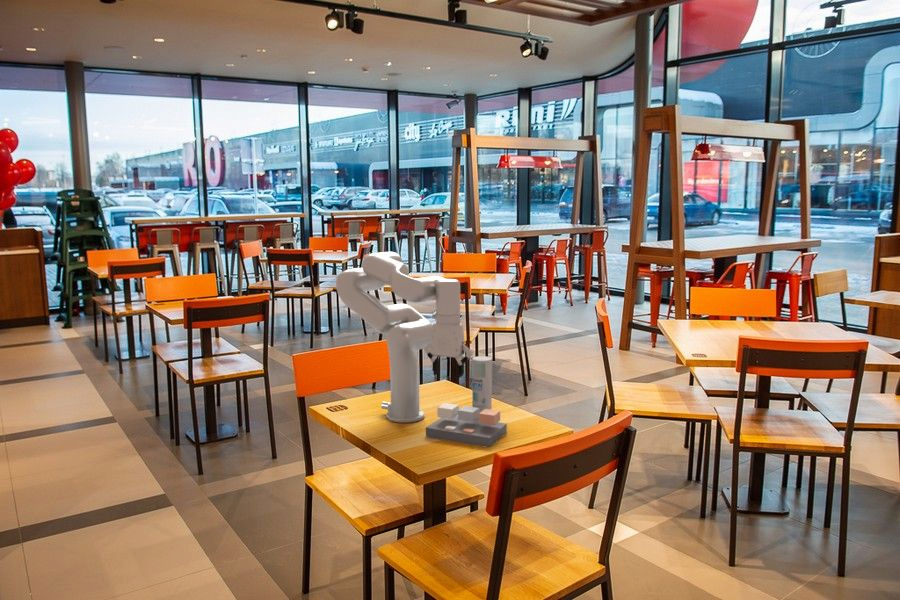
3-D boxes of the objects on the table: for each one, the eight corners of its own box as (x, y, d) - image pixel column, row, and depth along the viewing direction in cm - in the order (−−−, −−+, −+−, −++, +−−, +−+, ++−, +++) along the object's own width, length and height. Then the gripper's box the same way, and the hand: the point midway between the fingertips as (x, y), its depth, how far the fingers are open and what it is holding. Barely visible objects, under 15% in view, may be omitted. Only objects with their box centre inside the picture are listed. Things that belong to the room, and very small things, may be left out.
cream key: (437, 416, 215) (437, 407, 214) (444, 412, 219) (444, 403, 219) (451, 418, 213) (451, 409, 212) (458, 414, 217) (458, 405, 217)
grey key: (457, 419, 212) (457, 410, 211) (464, 415, 216) (464, 405, 216) (472, 421, 210) (472, 412, 209) (479, 417, 214) (479, 407, 214)
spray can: (495, 416, 230) (496, 358, 227) (482, 421, 225) (483, 361, 222) (480, 412, 234) (481, 355, 231) (468, 417, 229) (468, 358, 226)
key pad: (425, 437, 211) (425, 425, 210) (445, 423, 223) (445, 412, 223) (489, 447, 202) (489, 435, 201) (506, 432, 214) (506, 421, 214)
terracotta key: (478, 422, 209) (478, 413, 208) (485, 418, 213) (485, 408, 213) (494, 425, 207) (494, 415, 206) (500, 420, 211) (500, 410, 211)
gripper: (417, 319, 212) (417, 375, 215) (468, 323, 204) (468, 381, 207) (428, 315, 219) (428, 369, 221) (478, 319, 211) (478, 375, 214)
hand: (448, 375), depth 214 cm, fingers open, 7 cm apart
